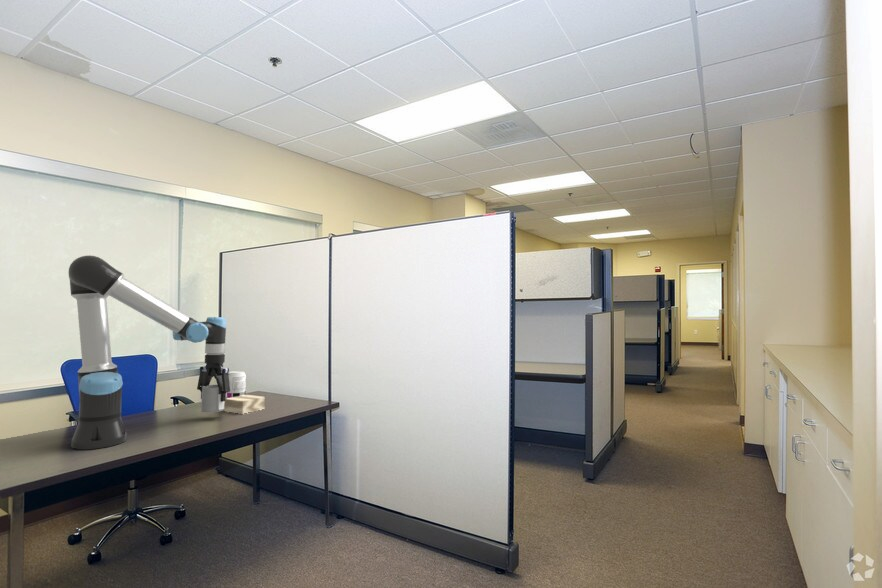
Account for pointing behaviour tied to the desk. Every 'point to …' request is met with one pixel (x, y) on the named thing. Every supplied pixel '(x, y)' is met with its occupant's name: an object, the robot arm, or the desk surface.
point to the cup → (210, 398)
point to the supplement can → (237, 384)
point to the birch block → (244, 404)
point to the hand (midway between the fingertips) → (212, 408)
